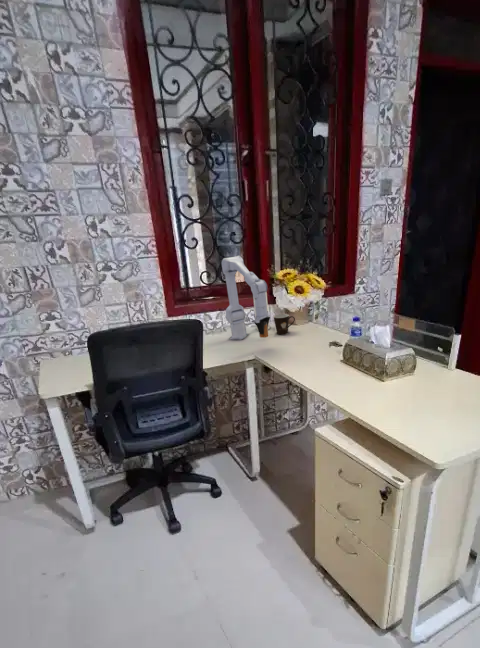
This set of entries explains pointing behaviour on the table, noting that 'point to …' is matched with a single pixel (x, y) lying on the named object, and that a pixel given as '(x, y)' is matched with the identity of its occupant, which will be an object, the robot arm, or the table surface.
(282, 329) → the coffee mug
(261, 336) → the amber jar
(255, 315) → the bottle
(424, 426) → the table surface
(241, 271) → the robot arm
